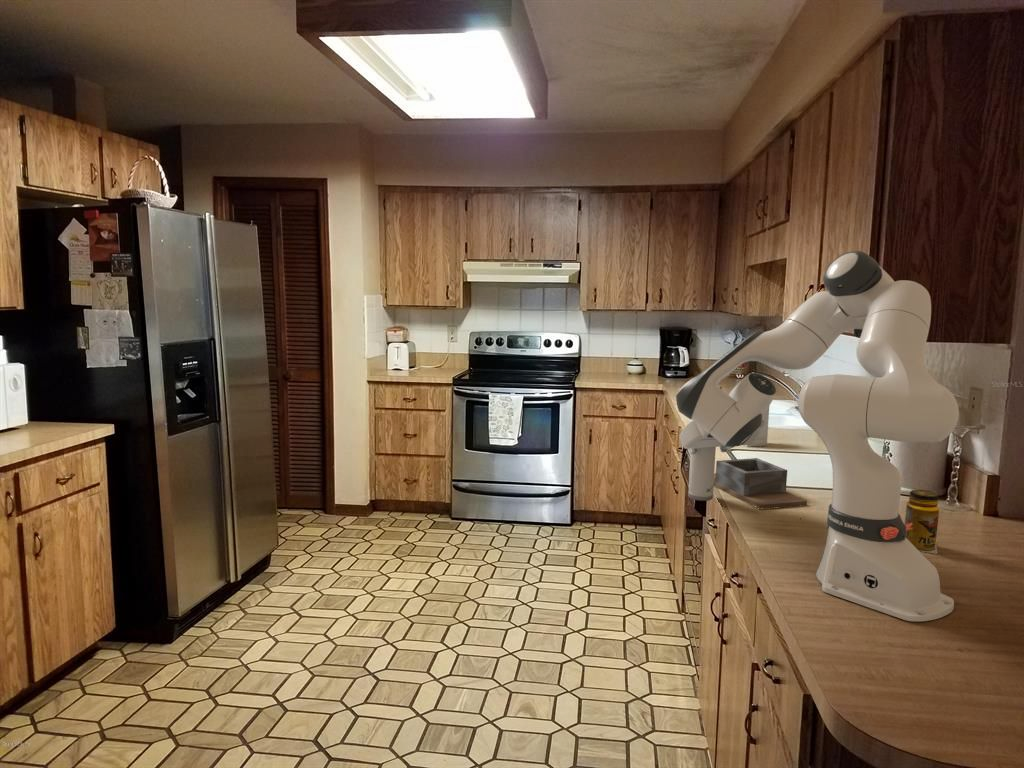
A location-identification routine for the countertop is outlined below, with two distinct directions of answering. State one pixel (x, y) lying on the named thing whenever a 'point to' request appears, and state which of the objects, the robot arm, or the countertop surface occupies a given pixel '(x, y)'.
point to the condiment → (922, 520)
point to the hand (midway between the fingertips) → (706, 450)
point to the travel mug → (702, 474)
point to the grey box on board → (755, 483)
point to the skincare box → (762, 432)
